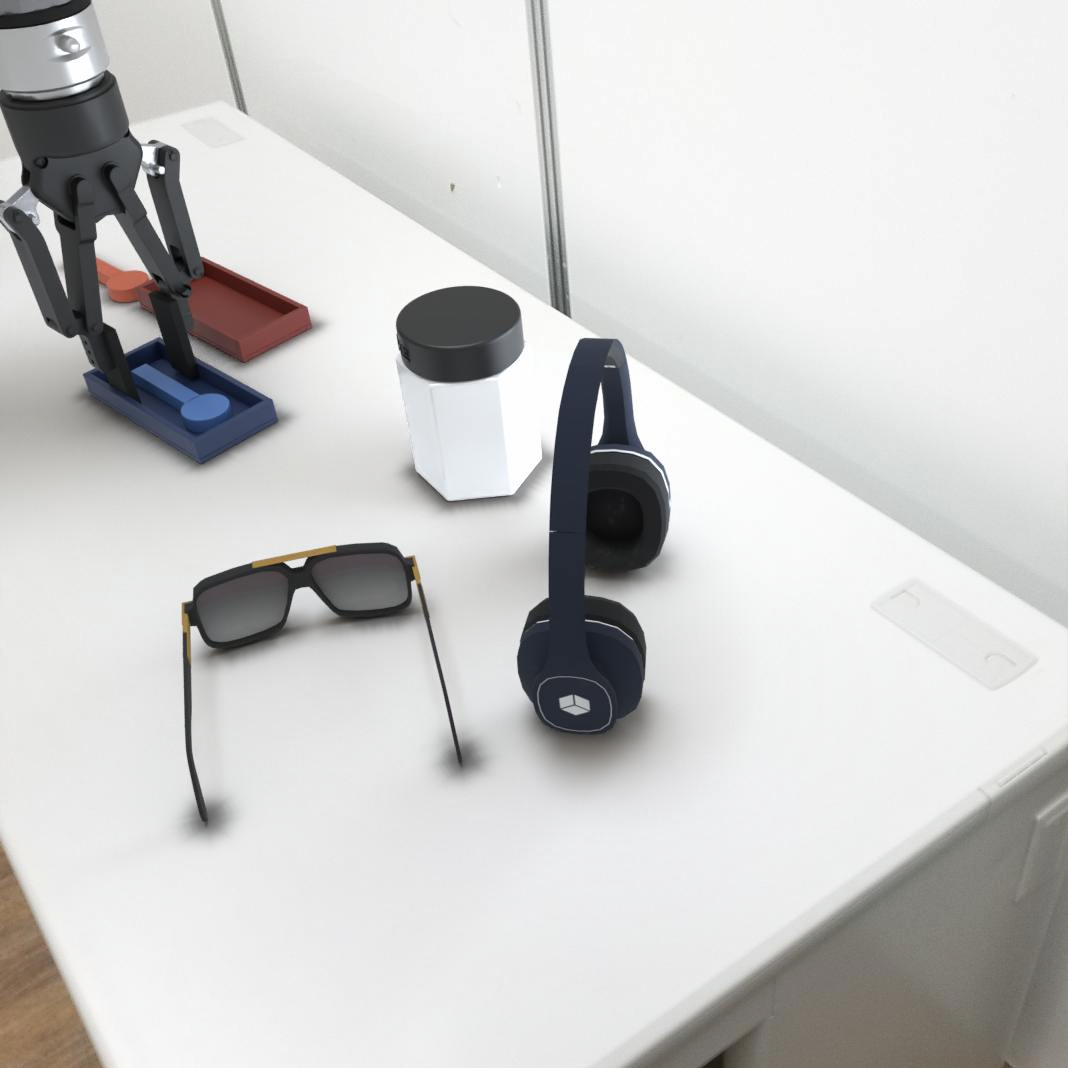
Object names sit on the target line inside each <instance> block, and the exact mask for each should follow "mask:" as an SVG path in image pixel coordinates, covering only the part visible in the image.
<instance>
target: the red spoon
mask: <svg viewBox="0 0 1068 1068" xmlns="http://www.w3.org/2000/svg"><path fill="white" fill-rule="evenodd" d="M96 264H97V273H98V281H99V283H101V284H102V285H105V286H106V288H107V291H108V294H109V296H110V299H111V300H112V301H114V302H118V303H131V302H136V301H139V300H138V297H137V294H136V291H135V288H134V287H136V286H138V285H140V284H143V283H145V282H147V281H149V280H150V276H149V274H148V272H147V273H146V272H145V271H144V270H143V271H142V270H137V269H135V270H126V271H123V270H122V269H119V268H118V267H116V266H113V265H112V264H110V263H108V262H107V261H104V260H103V259H100V258H98V257H96Z"/></svg>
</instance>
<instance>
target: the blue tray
mask: <svg viewBox="0 0 1068 1068" xmlns="http://www.w3.org/2000/svg"><path fill="white" fill-rule="evenodd" d="M124 354H125V357H126V360H127V363H128V366H129V369H130V371H132V370H134V369H136V368H138V367H140V366H142V365H144V364H147V365H149V366H151V367H153V368H154V369H156V370H158V371H159V372H161V373H163V374H165V375H166V376H168V377H170V378H171V379H173V380H175V381H177V382H178V383H180V384H182V385H183V386H185V387H187V388H189V389H190V390H192V391H194V392H195V393H197V394H199V395H203V394H220V395H223V396H225V397H226V398H227V399H228V400H229V402H230V405H231V409H232V412H233V417H232V418H231V419H229V420H227V421H225V422H223V423H221V424H220V425H218V426H216V427H214V428H212V429H210V430H209V431H207V432H205V433H195V432H192V431H190V430H188V429H187V428H186V427H185V424H184V421H183V418H182V415H181V411H179V410H178V409H176V408H174V407H173V406H171V405H169V404H168V403H166V402H164V401H163V400H161V399H159V398H158V397H156V396H155V395H153V394H151V393H150V392H148V391H146V390H145V389H143V388H141V387H140V386H138V385H136V384H135V386H136V388H137V391H138V394H139V397H140V400H141V403H142V404H140V403H139V402H137V401H135V400H134V399H132V398H130V397H129V396H127V395H125V394H124V393H122V392H121V391H119V390H117V389H116V388H114V387H112V386H111V385H110V384H109V381H108V379H107V376H106V373H102V372H101V371H99V370H97V369H96V368H94V367H93V368H92V369H90V370H88V371H86V372H83V373H82V377H83V379H84V381H85V384H86V387H87V389H88V392H89V395H90V396H92V397H93V398H95V399H97V401H100V402H102V403H103V404H104V405H106V406H107V407H110V408H111V409H112V410H114V411H116V412H117V413H119V414H120V415H122V416H123V417H125V418H127V419H128V420H130V421H132V422H133V423H135V424H136V425H138V426H139V427H141V428H143V429H144V430H146V431H148V432H149V433H150V434H152V435H154V436H155V437H157V438H159V439H160V440H162V441H164V442H165V443H166V444H168V445H170V446H171V447H173V448H175V449H176V450H178V451H180V452H181V453H183V454H184V455H185V456H187V457H189V458H191V459H192V460H193V461H195V462H197V463H198V464H200V465H202V464H204V463H207V462H208V461H209V460H210V459H213V458H215V457H216V456H218V455H220V454H221V453H222V454H223V452H225V451H227V450H229V449H231V448H232V447H234V446H236V445H238V444H239V443H241V442H244V441H245V440H246V439H248V438H250V437H252V436H254V435H256V434H257V433H259V432H261V431H263V430H265V429H267V428H269V427H270V426H271V425H273V424H275V423H277V422H278V421H279V418H278V415H277V412H276V408H275V407H276V406H275V404H274V400H273V399H272V398H271V397H269V396H267V395H265V394H263V393H261V392H259V391H258V390H256V389H254V388H253V387H251V386H249V385H248V384H247V385H246V384H245V383H244V382H241V381H240V380H238V379H236V378H234V377H232V376H231V375H229V374H227V373H226V372H223V371H222V370H220V369H218V368H216V367H215V366H213V365H211V364H209V363H207V362H206V361H204V360H202V359H200V358H198V357H196V356H195V355H194V357H195V361H196V364H197V367H198V371H199V374H200V375H199V376H197V377H195V378H193V379H191V378H189V377H188V376H186V375H184V374H182V373H181V372H179V371H177V370H175V369H174V368H172V366H171V362H170V359H169V356H168V353H167V350H166V347H165V344H164V341H163V338H162V337H161V336H158V337H156V338H154V339H152V340H150V341H148V342H146V343H143V344H142V345H139V346H137V347H135V348H133V349H131V350H129V351H127V352H124ZM131 374H132V373H131ZM132 377H133V376H132ZM133 380H134V379H133ZM134 383H135V382H134Z"/></svg>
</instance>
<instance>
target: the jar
mask: <svg viewBox="0 0 1068 1068" xmlns="http://www.w3.org/2000/svg"><path fill="white" fill-rule="evenodd" d="M395 328H396V342H397V347H398V348H397V349H398V351H399V354H398V355H397V356H396V357H395V359H394V360H395V365H396V370H397V376H398V381H399V388H400V391H401V392H400V393H401V398H402V403H403V408H404V414H405V419H406V424H407V430H408V431H407V432H408V436H409V441H410V442H409V443H410V446H411V447H410V448H411V452H412V457H413V462H414V463H413V464H414V468H415V471H416V472H417V474H419V475H420V476H421V477H422V478H423V479H424V480H425V481H426V482H427V483H428V484H429V485H431V487H432V488H434V489H435V490H436V491H437V492H438V493H439V494H440V495H441V496H442V497H443V498H444V499H445V500H446V501H448V502H454V501H455V502H456V501H465V500H474V499H485V498H495V497H504V496H505V497H506V496H513V495H514V494H515V493H516V492H517V490H518V489H519V488H520V486H522V484H523V483H524V482H525V480H526V479H527V478H528V476H529V475H530V474H531V473H532V471H533V470H534V469H535V468H536V467H537V466H538V464H539V463H540V462H541V460H542V459H543V454H542V443H541V434H540V424H539V423H540V422H539V413H538V402H537V392H536V384H535V383H536V382H535V381H536V380H535V372H534V363H533V362H534V360H533V352H532V345H531V344H530V343H529V342H528V341H526V339H524V329H523V328H524V327H523V318H522V310H521V307H520V305H519V303H518V302H517V301H516V300H515V299H514V298H513V297H512V296H511V295H509V294H507V293H505V292H504V291H501V290H498V289H495V288H492V287H487V286H480V285H457V286H450V287H443V288H439V289H435V290H432V291H429V292H426V293H424V294H421V295H419V296H417V297H415V298H414V299H412V300H411V301H409V302H408V303H407V304H406V305H405V306H403V308H402V309H401V310H400V311H399V313H398V315H397V317H396V320H395Z"/></svg>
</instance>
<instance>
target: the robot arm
mask: <svg viewBox="0 0 1068 1068" xmlns="http://www.w3.org/2000/svg"><path fill="white" fill-rule="evenodd" d="M104 38H105V37H104V35H103V32H102V29H101V25H100V22H99V19H98V15H97V13H96V9H95V5H94V2H93V0H0V111H1V113H2V116H3V119H4V121H5V125H6V127H7V130H8V133H9V136H10V137H11V141H12V143H13V146H14V148H15V150H16V152H17V155H18V156H19V159H20V162H21V175H20V183H21V187H20V188H19V189H18V190H16V191H15V192H14V194H13V195H11V196H10V197H9V198H8V199H6V201H5V200H3V199H0V225H1V226H2V227H3V228H4V229H5V231H7V232H8V234H9V236H10V238H11V241H12V244H13V246H14V249H15V251H16V254H17V256H18V258H19V261H20V263H21V266H22V269H23V271H24V274H25V275H26V278H27V281H28V283H29V287H30V288H31V290H32V294H33V296H34V298H35V301H36V303H37V305H38V308H39V310H40V313H41V315H42V318H43V320H44V323H45V325H46V326H47V327H48V328H50V329H52V330H53V331H55V332H57V333H58V334H60V335H61V336H64V337H65V338H67V339H74V338H75V337H76V336H79V339H80V342H81V345H82V347H83V351H84V353H85V355H86V357H87V360H88V363H89V364H90V365H91V366H92V367H93V369H94V368H96V369H97V370H99V371H101V372H102V373H106V376H107V379H108V381H109V384H110V385H111V386H112V387H114V388H116V389H117V390H119V391H121V392H122V393H124V394H125V395H127V396H129V397H130V398H132V399H134V400H135V401H137V402H139V403H140V404H142V403H141V400H140V397H139V394H138V391H137V388H136V386H135V383H134V380H133V377H132V374H131V371H130V369H129V366H128V363H127V360H126V357H125V352H124V349H123V346H122V343H121V341H120V337H119V334H118V332H117V329H116V328H115V327H113V326H111V325H109V324H107V322H104V320H103V319H104V318H103V317H104V316H103V309H102V301H101V293H100V282H99V281H98V273H97V264H96V258H97V256H96V247H95V241H96V240H97V239H98V231H97V224H98V223H99V222H100V221H102V220H103V219H104V218H106V217H107V216H114V218H115V219H116V221H117V222H118V224H119V225H120V228H121V229H122V231H123V232H124V234H125V235H126V237H127V239H128V241H129V242H130V244H131V245H132V247H133V249H134V251H135V252H136V254H137V255H138V257H139V259H140V261H141V263H142V264H143V266H144V267H145V269H146V271H147V273H149V274H148V275H150V277H151V279H153V280H154V282H155V284H156V285H157V286H159V288H160V291H161V292H160V291H158V290H155V291H153V292H151V293H148V294H149V297H150V300H151V303H152V307H153V310H154V313H155V314H154V316H155V319H156V322H157V325H158V328H159V331H160V334H161V338H162V339H163V341H164V344H165V347H166V350H167V353H168V356H169V359H170V362H171V366H172V368H174V369H175V370H177V371H179V372H181V373H182V374H184V375H186V376H188V377H189V378H191V379H193V378H195V377H197V376H199V375H200V374H199V371H198V367H197V364H196V361H195V357H196V356H195V353H194V351H193V348H192V344H191V341H190V338H189V335H188V334H189V333H188V332H189V331H191V330H193V329H194V320H193V317H192V314H191V311H190V307H189V304H188V300H187V299H188V298H189V297H190V296H191V295H192V290H193V289H192V287H191V286H189V285H188V284H189V283H190V282H191V281H192V280H193V279H199V278H201V277H202V276H203V274H204V267H203V263H202V260H201V257H202V256H201V253H200V250H199V246H198V242H197V239H196V235H195V232H194V228H193V223H192V220H191V217H190V214H189V210H188V207H187V203H186V199H185V196H184V192H183V187H182V184H181V181H180V178H181V177H180V176H181V175H180V173H181V153H180V151H179V149H178V148H176V147H174V146H172V145H169V144H166V143H164V142H162V141H160V140H157V139H150V140H149V141H148V142H147V143H142V142H141V143H140V141H139V140H138V139H137V138H136V137H135V136H134V135H133V134H132V132H131V130H130V120H129V117H128V113H127V110H126V106H125V103H124V100H123V97H122V94H121V89H120V86H119V83H118V80H117V78H116V76H115V74H114V73H112V72H110V71H109V70H108V67H110V62H111V59H110V55H109V52H108V48H107V45H106V42H105V39H104ZM140 170H142V171H143V172H144V173H145V174H146V180H147V185H148V188H149V193H150V196H151V198H152V201H153V206H154V209H155V212H156V215H157V218H158V222H159V225H160V228H161V232H162V235H163V239H164V242H165V245H166V247H165V245H164V244H163V242H162V240H161V239H160V237H159V235H158V233H157V232H156V230H155V228H154V226H153V224H152V223H151V221H150V219H149V218H148V216H147V215H148V210H147V209H146V208H145V205H144V203H143V202H142V200H141V198H140V197H139V196H138V195H139V194H138V193H137V192H136V190H135V189H136V185H137V180H138V177H139V173H140ZM39 202H40V203H41V204H42V205H43V206H45V207H47V208H48V209H49V210H51V211H52V213H53V221H54V227H55V229H56V231H57V233H58V235H59V241H60V248H61V257H62V265H63V273H64V281H65V288H66V289H65V288H64V286H63V284H62V280H61V278H60V275H59V273H58V271H57V268H56V264H55V262H54V259H53V256H52V254H51V251H50V249H49V246H48V245H47V241H46V239H45V237H44V235H43V233H42V231H41V230H40V229H39V228H38V226H39V225H40V223H41V219H40V216H39V213H38V211H37V205H38V203H39ZM166 248H167V249H166ZM65 290H66V291H65ZM194 356H195V357H194Z"/></svg>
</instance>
